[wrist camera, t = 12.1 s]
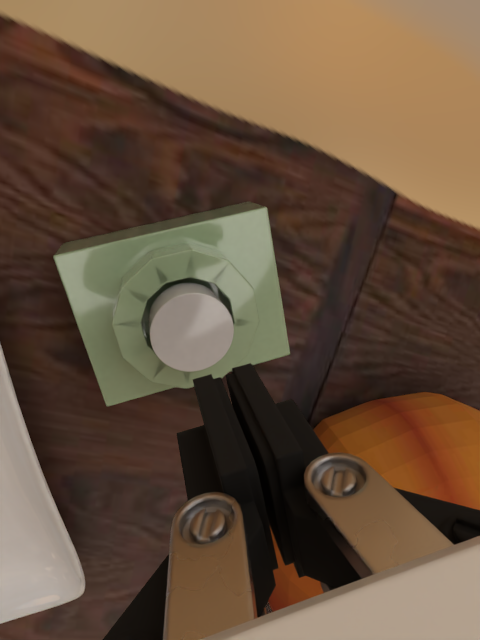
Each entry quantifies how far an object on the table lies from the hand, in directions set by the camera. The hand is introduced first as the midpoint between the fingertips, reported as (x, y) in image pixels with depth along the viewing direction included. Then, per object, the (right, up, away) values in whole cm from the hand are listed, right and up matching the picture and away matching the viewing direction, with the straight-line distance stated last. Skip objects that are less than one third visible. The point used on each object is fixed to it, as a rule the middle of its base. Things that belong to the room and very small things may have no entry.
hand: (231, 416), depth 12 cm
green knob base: (-3, +4, +12) cm, 13 cm away
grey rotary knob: (-2, +3, +8) cm, 9 cm away
